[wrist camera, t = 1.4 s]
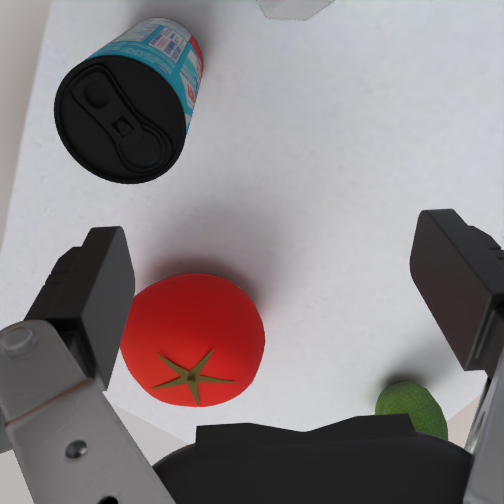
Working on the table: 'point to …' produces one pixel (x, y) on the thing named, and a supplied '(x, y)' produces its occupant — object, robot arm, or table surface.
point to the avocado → (413, 407)
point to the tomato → (193, 340)
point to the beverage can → (131, 102)
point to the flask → (292, 8)
